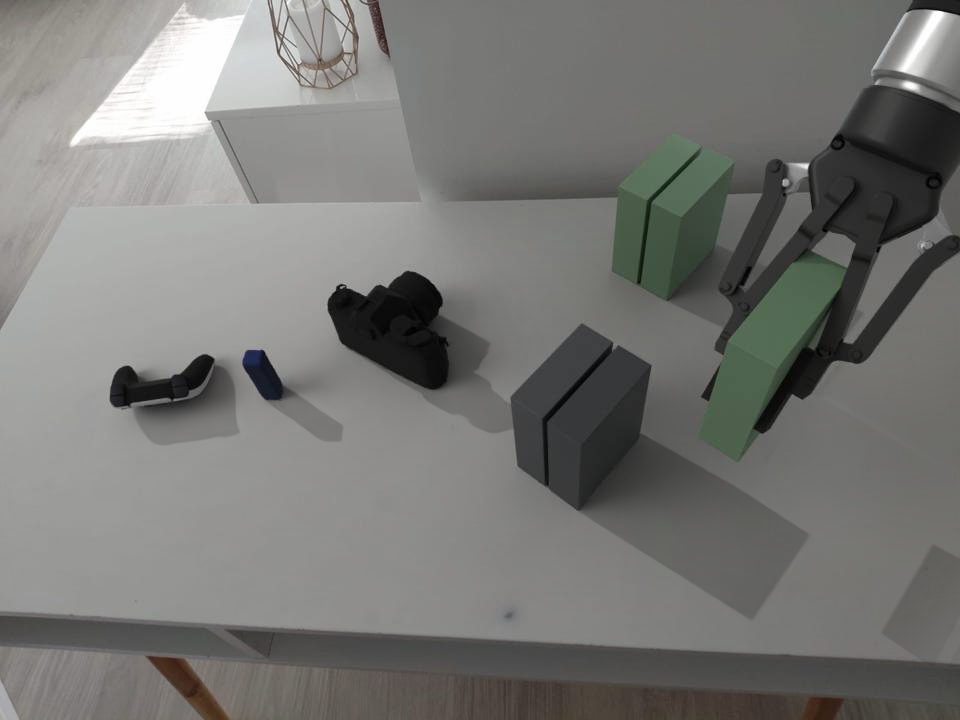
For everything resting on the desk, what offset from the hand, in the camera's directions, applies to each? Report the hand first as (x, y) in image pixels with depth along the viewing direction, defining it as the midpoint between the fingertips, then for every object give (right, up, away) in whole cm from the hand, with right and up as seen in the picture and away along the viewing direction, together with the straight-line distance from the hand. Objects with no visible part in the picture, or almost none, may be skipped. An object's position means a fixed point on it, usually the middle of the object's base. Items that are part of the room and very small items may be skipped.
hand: (735, 412), depth 55 cm
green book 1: (+1, +17, +34) cm, 38 cm away
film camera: (-27, +6, +30) cm, 41 cm away
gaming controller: (-53, 0, +28) cm, 60 cm away
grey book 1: (-11, -4, +21) cm, 23 cm away
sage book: (+3, 0, +5) cm, 6 cm away
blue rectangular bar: (-41, 0, +27) cm, 49 cm away
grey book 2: (-8, -6, +19) cm, 21 cm away
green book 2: (+4, +15, +32) cm, 35 cm away
